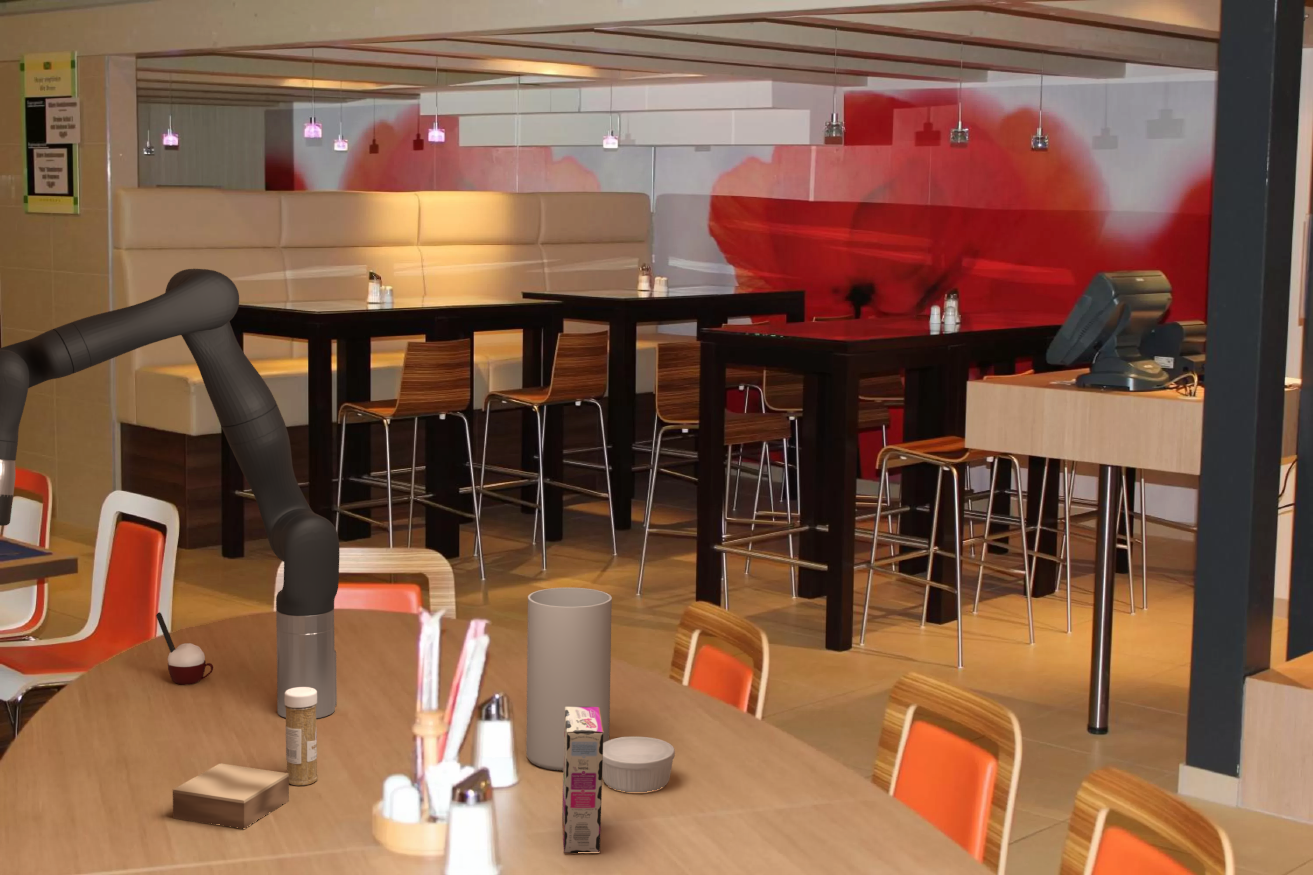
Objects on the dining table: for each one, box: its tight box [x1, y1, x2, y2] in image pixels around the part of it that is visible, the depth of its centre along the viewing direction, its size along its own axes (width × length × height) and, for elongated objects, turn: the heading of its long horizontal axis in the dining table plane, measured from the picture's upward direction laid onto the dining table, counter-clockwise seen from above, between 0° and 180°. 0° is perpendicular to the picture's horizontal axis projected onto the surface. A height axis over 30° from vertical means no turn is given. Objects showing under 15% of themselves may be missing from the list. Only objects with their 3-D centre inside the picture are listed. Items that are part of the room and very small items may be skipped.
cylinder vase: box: [525, 587, 613, 772], centre depth 233 cm, size 12×12×25 cm
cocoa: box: [155, 611, 214, 686], centre depth 269 cm, size 10×6×12 cm, turn 68°
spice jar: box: [284, 687, 319, 787], centre depth 222 cm, size 5×5×14 cm
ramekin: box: [602, 736, 676, 792], centre depth 225 cm, size 11×11×5 cm
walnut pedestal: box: [172, 762, 290, 829], centre depth 211 cm, size 11×11×4 cm
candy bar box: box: [561, 707, 604, 854], centre depth 203 cm, size 11×5×16 cm, turn 5°
